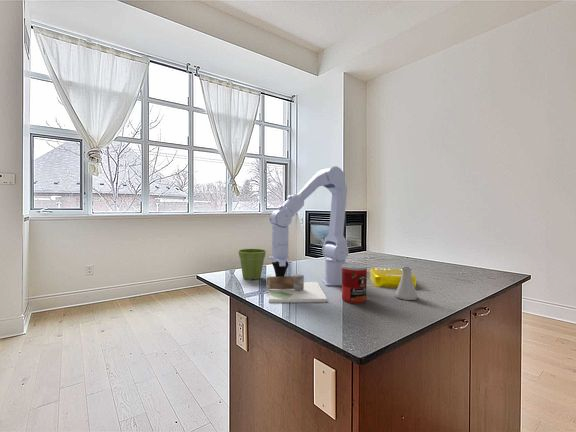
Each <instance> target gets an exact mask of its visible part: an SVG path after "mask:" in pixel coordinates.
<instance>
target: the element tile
mask: <svg viewBox="0 0 576 432" xmlns="http://www.w3.org/2000/svg"><path fill="white" fill-rule="evenodd" d="M402 272H403V269H402V268H385V267H384V268H383V267H371V268H370V270H369V279H370V281H371V282H372V284H373V285H374V286H375V287H377V288H378V287H379V288H396V289H397V288H398V286H399V283H400V281H401V278H402ZM411 276H412V281H413V284H414V287H416V288H417V276H415V275H414V274H413V273H412V272H411Z"/></svg>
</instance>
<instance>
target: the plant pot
mask: <svg viewBox="0 0 576 432" xmlns="http://www.w3.org/2000/svg"><path fill="white" fill-rule="evenodd" d="M267 252H268V251H267V250H266V249H262V248H242V249H241V248H240V249H238V250H237V253H238V255H239V256H238V257H239V260H240V265H241V267H240V268H241V273H242V278H243V279H244V280H249V281H252V280H260V279H261V277H262V272H263V268H264V267H263V265H264V260H265V256H266V253H267Z"/></svg>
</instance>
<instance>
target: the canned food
mask: <svg viewBox="0 0 576 432" xmlns="http://www.w3.org/2000/svg"><path fill="white" fill-rule="evenodd" d="M367 269H368V268H367V265H365V264H363V263H358V262H357V263H354V262H353V263H352V262H350V263H347V264H343V265H342V285H341V300H343V301H344V302H346V303H349V304H355V303H356V304H363V303H365V302H366V301H367V300H366V299H367V284H368V283H367V281H368V280H367V279H368V276H367V275H368V271H367Z"/></svg>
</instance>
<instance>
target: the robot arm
mask: <svg viewBox="0 0 576 432" xmlns="http://www.w3.org/2000/svg"><path fill="white" fill-rule="evenodd" d="M345 175H346V174H345V172H344V171H343V170H342V168H340V167H339V166H338V165H337V166H335V165H333V166H332V167H326V168H320V169H319V170H318V171H317V172H316V173H314V174H313V176H312V177H311V178H310V179H309V181H308V182H307V183H305V185H304V186H303V187H302V188H301V189H300V190H299V191H298V192H297V194H296V193H293V194H291V195H290V194H289V195H288V196H287V197H286V199H287V200H285V201H284V202H283V203H282V204H281V205H278V209H275V210H273V211H272V212H271V214H270V216H269V218H268V219H269V222H270V224H271V225H272V226H271V227H272V229H271V233H272V234H271V256H270V255H269V256H268V259H269V260H272V262H271V264H272V266H273V269H274V275H275V276H285V275H286V272H287V269H288V268H289V266H290V265H289V264H290V263H289V262H288V260H289V259H290V257H289V256H290V255H289V225H291V223H292V221H293V217H294V216H295V215H297V214H298V212H299V211H300V210H301V209H302V208H303V207H305V200H306V199H308V197H310V196H311V195H312V194H313V193H314V192H315V191H316V190H317V189H318V188H320V187H324V188H325V189H327V190H328V191H329V193H331V203H330V213H329V214H330V215H329V226H328V228H329V229H328V234H327V236H325V238H324V243H323V245H322V248H321V252H322V255H323V256H324V259H325V260H324V261H325V264H324V266H325V267H324V268H325V269H324V271H325V273H324V278H323V279H322V281H323V283H324V284H325V286H331V287H332V286H335V287H336V286H342V265H343V264H347V263H351V262H350V260H348V259H347V258H348V256H349V253H350V252H349V248H348V240H347V239H346V237H345V236H344V229H345V218H346V207H347V205H346V204H347V195H348V194H347V193H348V188H347V184H346V181H345V179H346V178H345V177H346V176H345Z"/></svg>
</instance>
